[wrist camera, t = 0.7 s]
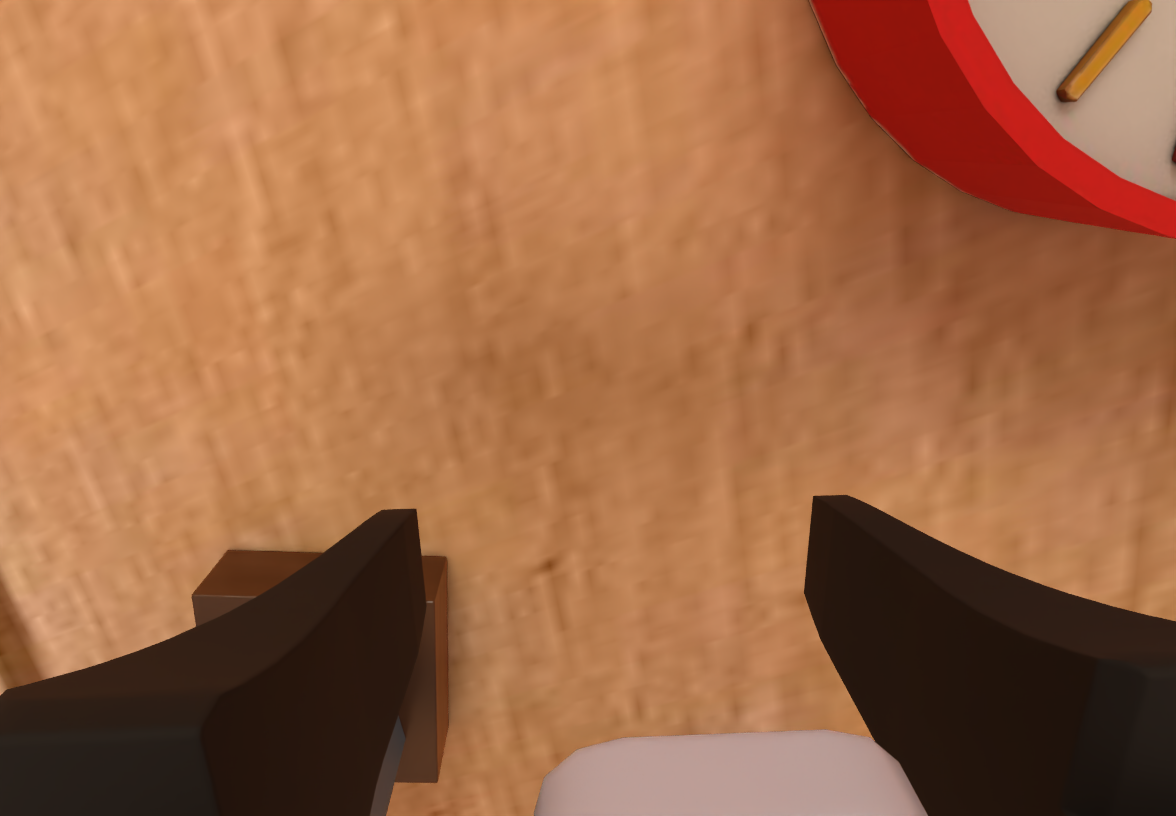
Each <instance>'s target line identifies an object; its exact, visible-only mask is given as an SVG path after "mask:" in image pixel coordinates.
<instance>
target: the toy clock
mask: <svg viewBox="0 0 1176 816" xmlns="http://www.w3.org/2000/svg"><path fill="white" fill-rule="evenodd" d="M809 2H810V5H811V7H812V9H813V12H814V14H815V16H816V19H817V21H818V23H819V26H820V28H821V30H822V33H823V35H824V37H825V40H826V42H827V45H828V47H829V49H830V52H831V54H832V56H833V59H834V61H835V63H836V65H837V67H838V68H839V70H840V71H841V73H842V74H843V76H844V77H845V79H846V80H847V82H848V83H849V85H850V86H851V88H852V90H853V91H854V93H855V94H856V96H857V97H858V99H859V100H860V102H861V103H862V105H863V106H864V108H865V109H866V111H867V112H868V114H869V115H870V117H871V118H872V119H873V120H874V121H875V122H876V123H877V124H878V125H879V126H880V127H881V128H882V129H883V130H884V131H885V132H886V133H887V134H888V135H889V136H890V137H891V138H892V139H893V140H894V141H895V142H896V143H897V144H898V145H899V146H900V147H901V148H902V149H903V150H904V151H905V152H906V153H907V154H908V155H909V156H910V157H911V158H912V159H913V160H914V161H916V162H917V163H919V164H920V165H922V166H923V167H925V168H926V169H928V170H929V171H931V172H932V173H934V174H935V175H937V176H939V177H940V178H942V179H943V180H945V181H946V182H948V183H949V184H951V185H952V186H954V187H955V188H957V189H958V190H960V191H962V192H964V193H967V194H969V195H972V196H974V197H977V198H979V199H982V200H985V201H987V202H990V203H992V204H995V205H997V206H1000V207H1002V208H1005V209H1007V210H1010V211H1012V212H1018V213H1023V214H1029V215H1035V216H1040V217H1046V218H1052V219H1057V220H1063V221H1069V222H1075V223H1081V224H1087V225H1094V226H1100V227H1106V228H1112V229H1118V230H1125V231H1131V232H1137V233H1143V234H1150V235H1156V236H1162V237H1168V238H1174V239H1176V0H809Z"/></svg>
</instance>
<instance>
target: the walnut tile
mask: <svg viewBox="0 0 1176 816" xmlns="http://www.w3.org/2000/svg"><path fill="white" fill-rule="evenodd" d="M321 554H323V553H304V552H270V551H236V550H228V551H227V552H226V553H225V554H224V556H223V557H222V558H221V559H220V561H219V562H218V563H217V564H216V565H215V567H214V568H213V569H212V570H211V572H210V573H209V574H208V575H207V577H206V578H205V579H204V580H203V582H202V583H201V584H200V585H199V587H198V588H197V589H196V590H195V592H194V593H193V594H192V602H193V608H194V615H195V622H196V627H197V626H199V625H201V624H204V623H206V622H208V621H210V620H213V619H215V618H217V617H219V616H221V615H223V614H225V613H227V612H229V611H231V610H233V609H235V608H237V607H239V606H240V605H242V604H244V603H246V602H248V601H250V600H252V599H253V598H255V597H257V596H259V595H260V594H262V593H264V592H266V591H267V590H269V589H270V588H272V587H274V586H275V585H277V584H279V583H280V582H282V581H283V580H285V579H286V578H288V577H289V576H290V575H292V574H293V573H295V572H296V571H298V570H299V569H301V568H302V567H304V566H305V565H307V564H308V563H310V562H311V561H313V560H314V559H316V558H317V557H319V556H320V555H321ZM421 557H422V566H423V576H424V585H425V594H426V603H427V608H426V614H425V620H424V626H423V632H422V637H421V642H420V647H419V653H418V656H417V659H416V663H415V666H414V669H413V672H412V675H411V678H410V681H409V684H408V688H407V691H406V694H405V697H404V700H403V703H402V706H401V709H400V712H399V715H398V716H399V719H400V722H401V725H402V729H403V732H404V735H405V738H406V739H405V743H404V747H403V751H402V755H401V759H400V762H399V766H398V770H397V774H396V778H395V782H406V783H437V782H438V779H439V774H440V769H441V763H442V758H443V753H444V747H445V742H446V737H447V732H448V726H449V721H448V629H447V558H446V557H440V556H421Z"/></svg>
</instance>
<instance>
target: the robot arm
mask: <svg viewBox="0 0 1176 816" xmlns="http://www.w3.org/2000/svg"><path fill="white" fill-rule="evenodd" d="M804 594H805V597H806V600H807V603H808V606H809V609H810V612H811V615H812V618H813V620H814V623H815V626H816V628H817V631H818V634H819V636H820V639H821V641H822V643H823V645H824V647H825V649H826V651H827V653H828V654H829V656H830V658H831V660H832V662H833V664H834V666H835V668H836V670H837V672H838V673H839V675H840V677H841V679H842V681H843V683H844V685H845V686H846V688H847V690H848V692H849V694H850V696H851V698H852V699H853V701H854V703H855V705H856V707H857V709H858V711H859V712H860V714H861V716H862V718H863V720H864V722H865V724H866V725H867V727H868V729H869V731H870V733H871V735H872V737H873V738H874V740H875V741H873V740H872V739H871V738H870V737H865V736H859V735H854V734H848V733H842V732H837V731H831V730H826V729H824V730H799V731H774V732H749V733H724V734H699V735H675V736H650V737H625V738H620V739H616V740H612V741H608V742H604V743H600V744H596V745H592V746H588V747H584V748H580V749H577V750H576V751H574V752H573V753H572V754H571V755H570V756H568V757H567V758H566V759H565V760H564V761H562V762H561V763H560V764H559V765H558V766H557V767H555V768H554V769H553V770H552V771H551V772H549V773H548V774H547V775H546V776H545V777H544V780H543V783H542V786H541V790H540V793H539V797H538V800H537V803H536V807H535V810H534V816H1176V621H1172V620H1167V619H1163V618H1158V617H1153V616H1149V615H1145V614H1141V613H1137V612H1133V611H1129V610H1125V609H1121V608H1117V607H1113V606H1109V605H1106V604H1102V603H1099V602H1096V601H1092V600H1089V599H1085V598H1082V597H1079V596H1075V595H1072V594H1068V593H1065V592H1062V591H1059V590H1056V589H1053V588H1050V587H1047V586H1044V585H1042V584H1039V583H1036V582H1034V581H1031V580H1028V579H1026V578H1023V577H1020V576H1018V575H1015V574H1012V573H1009V572H1007V571H1004V570H1002V569H1000V568H997V567H995V566H992V565H990V564H988V563H985V562H983V561H981V560H979V559H977V558H974V557H972V556H970V555H968V554H966V553H963V552H961V551H959V550H957V549H955V548H953V547H951V546H949V545H947V544H944V543H942V542H940V541H938V540H936V539H934V538H932V537H930V536H928V535H926V534H925V533H923V532H921V531H919V530H917V529H915V528H913V527H911V526H909V525H907V524H905V523H903V522H902V521H900V520H898V519H896V518H894V517H892V516H890V515H888V514H886V513H884V512H883V511H881V510H879V509H877V508H875V507H873V506H871V505H869V504H867V503H865V502H862V501H860V500H858V499H856V498H853V497H851V496H848V495H832V496H813V503H812V514H811V524H810V535H809V545H808V556H807V567H806V577H805V588H804ZM426 608H427V603H426V594H425V585H424V576H423V566H422V557H421V548H420V539H419V529H418V520H417V511H416V509H392V510H381V511H380V512H378V513H376V514H375V515H373V516H372V517H371V518H369V519H368V520H366V521H365V522H364V523H362V524H361V525H360V526H358V527H357V528H356V529H355V530H353V531H352V532H351V533H349V534H348V535H347V536H345V537H344V538H343V539H341V540H340V541H339V542H337V543H336V544H335V545H333V546H332V547H331V548H329V549H328V550H327V551H325V552H324V553H323V554H321V555H320V556H319V557H317V558H316V559H314V560H313V561H311V562H310V563H308V564H307V565H305V566H304V567H302V568H301V569H299V570H298V571H296V572H295V573H293V574H292V575H290V576H289V577H288V578H286V579H285V580H283V581H282V582H280V583H279V584H277V585H275V586H274V587H272V588H270V589H269V590H267V591H266V592H264V593H262V594H260V595H259V596H257V597H255V598H253V599H252V600H250V601H248V602H246V603H244V604H242V605H240V606H239V607H237V608H235V609H233V610H231V611H229V612H227V613H225V614H223V615H221V616H219V617H217V618H215V619H213V620H210V621H208V622H206V623H204V624H201V625H199V626H197V627H195V628H193V629H190V630H188V631H186V632H184V633H181V634H179V635H177V636H175V637H172V638H170V639H168V640H165V641H163V642H160V643H158V644H155V645H152V646H150V647H147V648H144V649H142V650H139V651H136V652H134V653H131V654H128V655H125V656H122V657H119V658H116V659H113V660H110V661H107V662H104V663H101V664H98V665H95V666H92V667H88V668H85V669H82V670H78V671H75V672H71V673H67V674H64V675H60V676H56V677H53V678H49V679H46V680H42V681H38V682H35V683H31V684H27V685H24V686H20V687H15V688H11V689H7V690H6V691H5V692H4V693H3V694H2V695H1V696H0V816H370V813H371V808H372V804H373V799H374V794H375V790H376V785H377V782H378V778H379V774H380V771H381V767H382V764H383V760H384V757H385V754H386V751H387V748H388V745H389V742H390V739H391V736H392V733H393V730H394V727H395V724H396V721H397V718H398V715H399V712H400V709H401V706H402V703H403V700H404V697H405V694H406V691H407V688H408V684H409V681H410V678H411V675H412V672H413V669H414V666H415V663H416V659H417V656H418V653H419V647H420V642H421V637H422V632H423V626H424V620H425V614H426Z"/></svg>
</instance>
